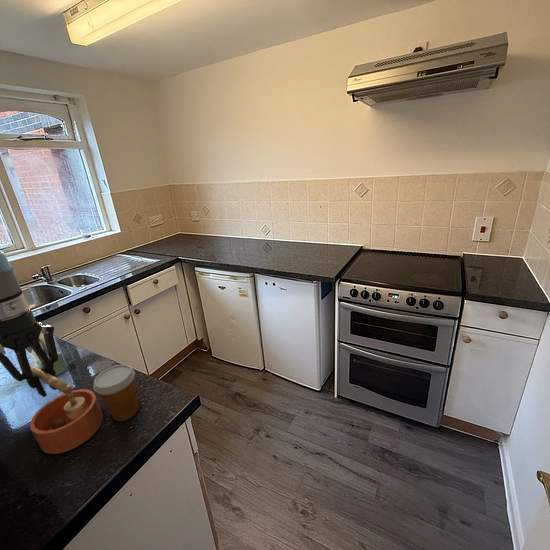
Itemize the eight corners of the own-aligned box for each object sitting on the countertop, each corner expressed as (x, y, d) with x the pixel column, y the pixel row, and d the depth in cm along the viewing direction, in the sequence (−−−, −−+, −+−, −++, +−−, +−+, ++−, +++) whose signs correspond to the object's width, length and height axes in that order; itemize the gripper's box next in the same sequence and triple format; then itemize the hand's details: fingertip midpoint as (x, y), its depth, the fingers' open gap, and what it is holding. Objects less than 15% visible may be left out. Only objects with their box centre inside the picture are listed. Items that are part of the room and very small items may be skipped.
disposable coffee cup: (102, 411, 80) (88, 375, 76) (139, 393, 85) (127, 358, 81) (111, 433, 73) (95, 395, 69) (150, 411, 78) (138, 374, 74)
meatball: (51, 434, 73) (47, 426, 72) (58, 425, 76) (54, 416, 75) (63, 432, 74) (59, 424, 73) (69, 423, 76) (65, 415, 75)
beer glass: (62, 360, 104) (46, 323, 99) (41, 373, 99) (23, 334, 93) (51, 356, 107) (35, 320, 102) (29, 368, 101) (11, 331, 96)
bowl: (27, 459, 68) (16, 438, 66) (59, 412, 81) (50, 394, 79) (89, 448, 70) (80, 427, 67) (111, 404, 82) (104, 385, 80)
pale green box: (43, 378, 96) (35, 361, 94) (63, 366, 101) (56, 351, 98) (48, 380, 95) (40, 364, 92) (67, 369, 99) (61, 353, 97)
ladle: (27, 392, 83) (14, 368, 80) (44, 382, 86) (33, 358, 83) (73, 422, 71) (61, 395, 68) (91, 409, 75) (80, 382, 71)
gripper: (-24, 333, 63) (22, 416, 72) (52, 302, 75) (84, 377, 84) (-36, 327, 67) (8, 406, 76) (38, 298, 79) (70, 370, 88)
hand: (48, 391), depth 80 cm, fingers closed on ladle, 2 cm apart
